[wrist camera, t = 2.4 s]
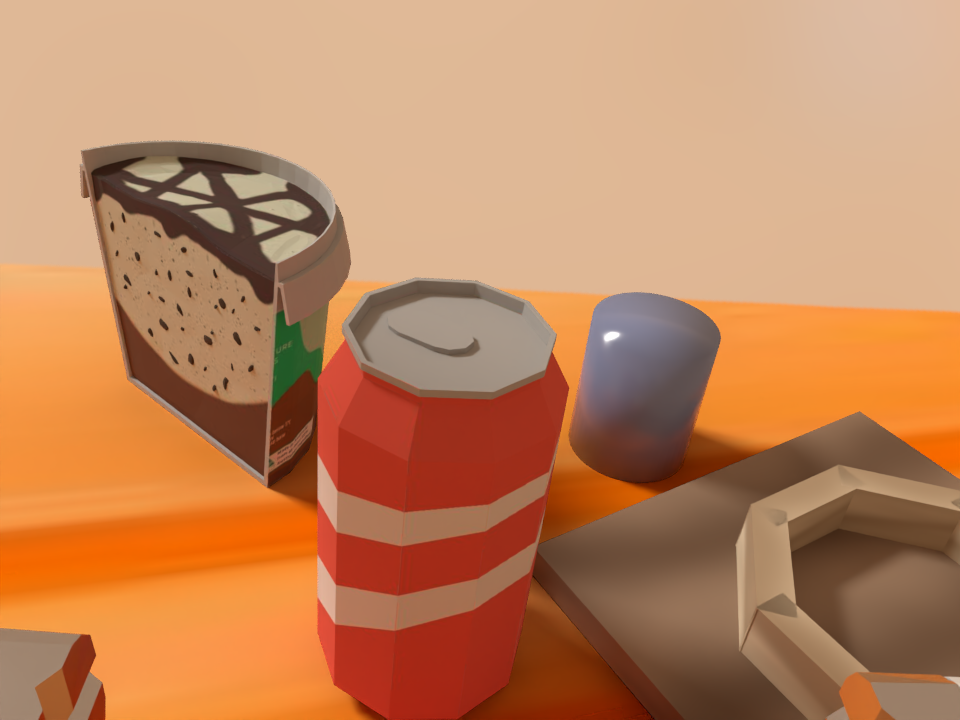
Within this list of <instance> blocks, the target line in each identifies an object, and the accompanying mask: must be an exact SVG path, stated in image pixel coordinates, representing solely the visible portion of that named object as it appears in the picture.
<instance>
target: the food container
mask: <svg viewBox="0 0 960 720" xmlns="http://www.w3.org/2000/svg"><path fill="white" fill-rule="evenodd" d="M81 154H82V162H83V164H80V178H81V195H82V197H83V198H87V197H90V201H91V206H92V211H93V216H94V220H95V225H96V229H97V235H98V240H99V244H100V249H101V253H102V259H103V264H104V268H105V273H106V278H107V283H108V288H109V292H110V297H111V302H112V307H113V312H114V316H115V321H116V326H117V331H118V336H119V340H120V345H121V350H122V355H123V360H124V364H125V369H126V374H127V379H128V380H129V381H130V382H131V383H133V384H134V385H135V386H137V387H138V388H139V389H140V390H142V391H143V392H144V393H146V394H147V395H148V396H150V397H151V398H152V399H153V400H155V401H156V402H157V403H159V404H160V405H161V406H162V407H164V408H165V409H166V410H168V411H169V412H170V413H171V414H173V415H174V416H175V417H177V418H178V419H179V420H180V421H182V422H183V423H184V424H186V425H187V426H188V427H190V428H191V429H192V430H193V431H195V432H196V433H197V434H199V435H200V436H201V437H202V438H204V439H205V440H206V441H208V442H209V443H210V444H211V445H213V446H214V447H215V448H217V449H218V450H219V451H221V452H222V453H223V454H224V455H226V456H227V457H228V458H230V459H231V460H232V461H233V462H235V463H236V464H237V465H239V466H240V467H241V468H242V469H244V470H245V471H246V472H248V473H249V474H250V475H251V476H253V477H254V478H255V479H257V480H258V481H259V482H261V483H262V484H263V485H264V486H266V487H267V488H268V487H269V486H271V485H272V484H274V483H275V482H277V481H278V480H280V479H281V478H282V477H284V476H285V475H287V474H288V473H290V472H291V470H292V469H293V468H294V467H295V465H296V464H297V463H298V462H299V461H300V459H301V458H302V457H303V456H304V455H305V453H306V452H307V451H308V450H309V447H310V444H311V440H312V437H313V433H314V430H315V427H316V418H317V409H318V377H319V376H320V374H321V371H322V362H323V352H324V343H325V333H326V324H327V314H328V305H329V301H330V300H331V299H332V298H333V297H334V295H335V294H336V293H337V292H338V291H339V290H340V289H341V287H342V285H343V284H344V282H345V280H346V279H347V277H348V273H349V269H350V265H351V260H350V250H349V245H348V240H347V235H346V231H345V226H344V221H343V217H342V215H341V212H340V210H339V208H338V206H337V205H336V204H335V200H334V198H333V195H332V193H331V191H330V189H329V188H328V187H327V186H326V185H325V184H324V182H323V181H322V180H320V179H319V178H318V177H317V176H315V175H314V174H313V173H311V172H310V171H308V170H306V169H305V168H302V167H301V166H299V165H298V164H295V163H293V162H290V161H288V160H286V159H283V158H281V157H278V156H274V155H271V154H268V153H265V152H261V151H256V150H253V149H248V148H244V147H238V146H232V145H225V144H217V143H207V142H196V141H144V142H131V143H121V144H115V145H108V146H101V147H95V148H90V149H85V150H81Z"/></svg>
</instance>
